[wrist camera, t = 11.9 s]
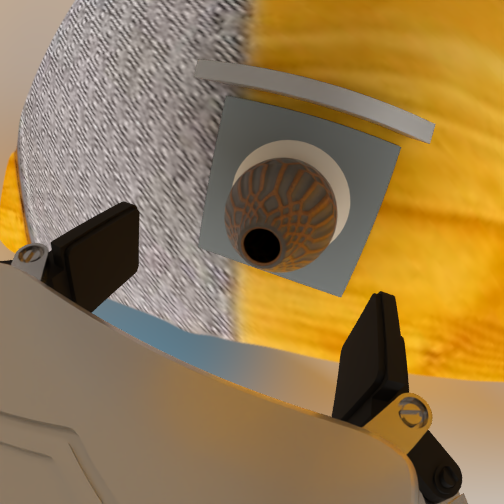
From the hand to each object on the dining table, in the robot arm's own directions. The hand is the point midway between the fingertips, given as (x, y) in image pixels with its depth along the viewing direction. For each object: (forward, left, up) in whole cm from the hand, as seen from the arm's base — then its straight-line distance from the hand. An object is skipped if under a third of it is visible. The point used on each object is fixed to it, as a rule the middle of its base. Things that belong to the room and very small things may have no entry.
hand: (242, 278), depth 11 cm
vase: (0, 0, -13) cm, 13 cm away
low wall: (-7, 0, -13) cm, 15 cm away
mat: (+1, 0, -13) cm, 13 cm away
